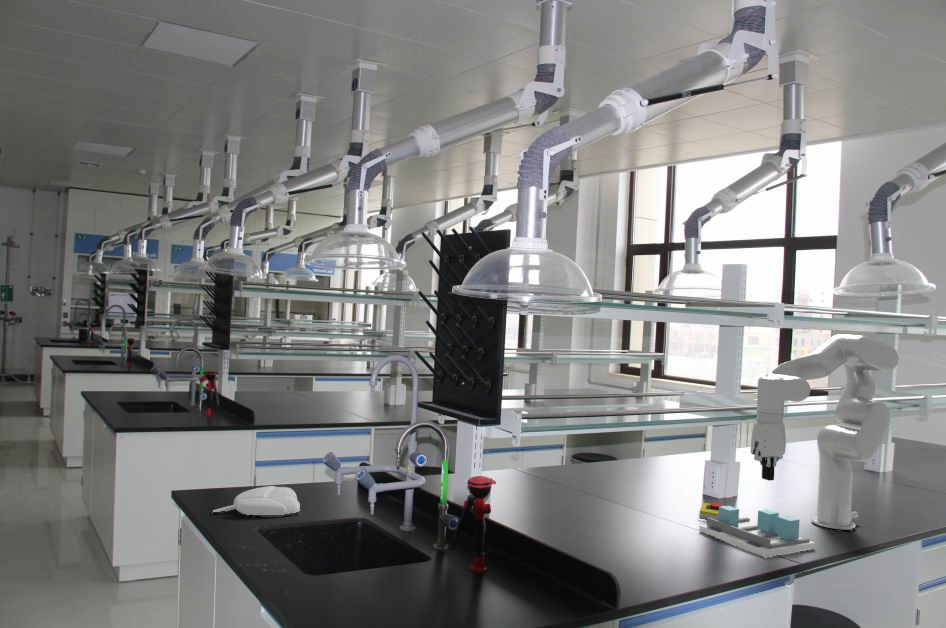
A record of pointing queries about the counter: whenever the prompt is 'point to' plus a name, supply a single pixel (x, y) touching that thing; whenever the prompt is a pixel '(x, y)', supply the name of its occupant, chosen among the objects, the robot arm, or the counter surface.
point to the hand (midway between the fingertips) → (767, 479)
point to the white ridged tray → (754, 537)
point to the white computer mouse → (265, 501)
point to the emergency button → (709, 511)
